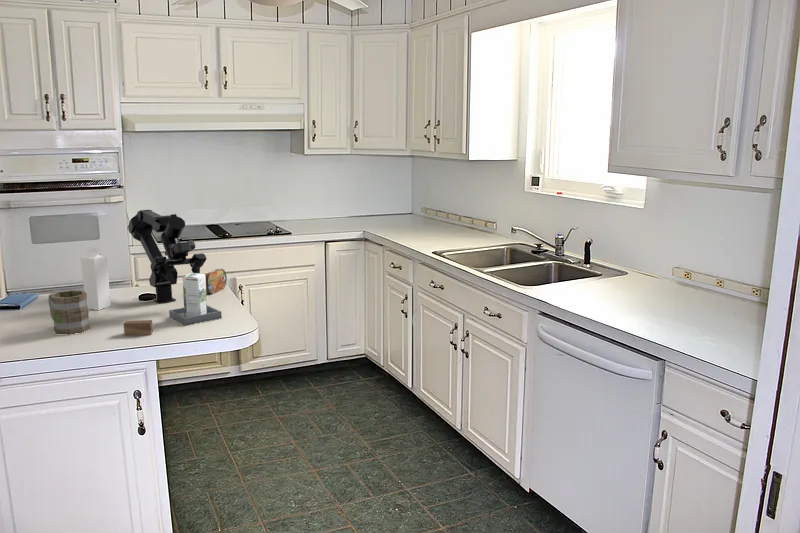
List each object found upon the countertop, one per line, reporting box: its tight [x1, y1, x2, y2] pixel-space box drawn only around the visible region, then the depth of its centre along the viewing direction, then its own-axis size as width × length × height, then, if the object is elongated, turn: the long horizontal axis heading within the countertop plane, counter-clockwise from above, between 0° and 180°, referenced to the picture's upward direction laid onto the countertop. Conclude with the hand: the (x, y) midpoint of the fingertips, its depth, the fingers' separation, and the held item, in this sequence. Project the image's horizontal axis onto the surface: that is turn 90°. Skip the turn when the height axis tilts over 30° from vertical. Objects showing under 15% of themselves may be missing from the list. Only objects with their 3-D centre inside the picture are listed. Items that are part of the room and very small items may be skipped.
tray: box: [168, 304, 223, 326], centre depth 232 cm, size 13×13×2 cm
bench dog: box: [123, 319, 154, 337], centre depth 214 cm, size 3×8×4 cm, turn 98°
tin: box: [204, 268, 228, 295], centre depth 268 cm, size 15×3×8 cm, turn 167°
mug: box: [48, 289, 91, 336], centre depth 218 cm, size 16×11×12 cm
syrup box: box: [182, 272, 208, 318], centre depth 230 cm, size 6×6×14 cm
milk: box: [80, 246, 112, 311], centre depth 242 cm, size 6×6×22 cm
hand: (186, 282), depth 236 cm, fingers open, 9 cm apart
